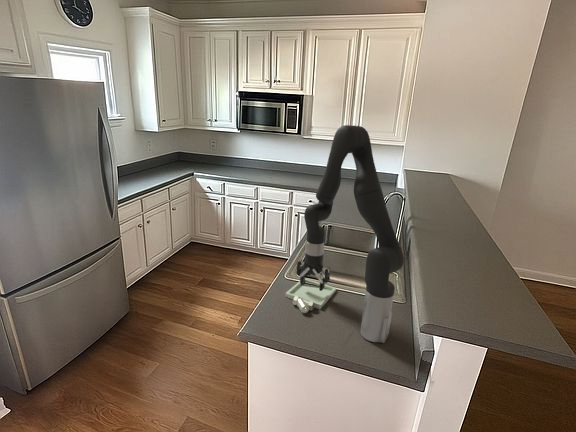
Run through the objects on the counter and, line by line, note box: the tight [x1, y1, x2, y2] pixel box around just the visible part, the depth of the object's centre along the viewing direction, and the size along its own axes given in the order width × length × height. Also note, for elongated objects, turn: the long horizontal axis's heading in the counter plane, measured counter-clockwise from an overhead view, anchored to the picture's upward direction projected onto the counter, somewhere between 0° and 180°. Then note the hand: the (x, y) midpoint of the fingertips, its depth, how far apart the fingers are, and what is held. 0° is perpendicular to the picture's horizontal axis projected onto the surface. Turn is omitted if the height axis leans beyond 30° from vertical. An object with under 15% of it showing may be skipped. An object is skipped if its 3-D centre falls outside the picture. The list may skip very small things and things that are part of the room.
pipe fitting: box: [292, 296, 315, 314], centre depth 131 cm, size 8×4×7 cm
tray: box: [285, 278, 337, 310], centre depth 142 cm, size 16×16×2 cm
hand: (311, 287), depth 141 cm, fingers open, 8 cm apart
